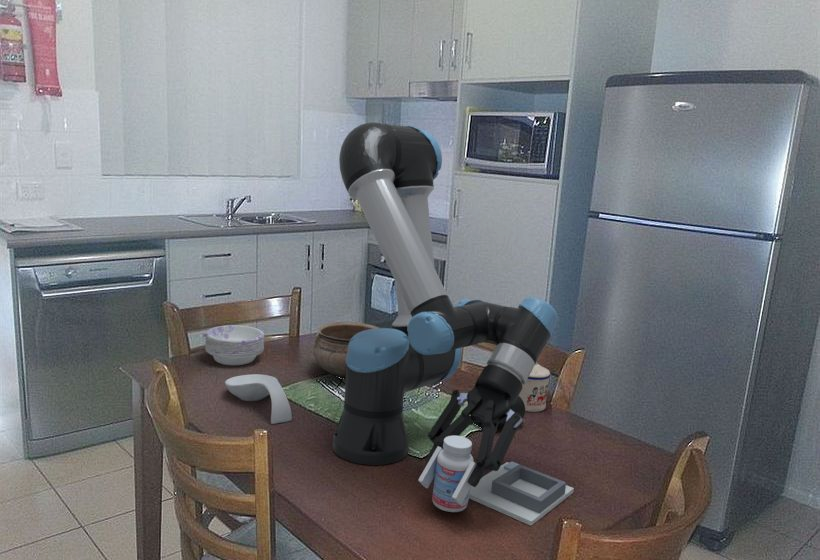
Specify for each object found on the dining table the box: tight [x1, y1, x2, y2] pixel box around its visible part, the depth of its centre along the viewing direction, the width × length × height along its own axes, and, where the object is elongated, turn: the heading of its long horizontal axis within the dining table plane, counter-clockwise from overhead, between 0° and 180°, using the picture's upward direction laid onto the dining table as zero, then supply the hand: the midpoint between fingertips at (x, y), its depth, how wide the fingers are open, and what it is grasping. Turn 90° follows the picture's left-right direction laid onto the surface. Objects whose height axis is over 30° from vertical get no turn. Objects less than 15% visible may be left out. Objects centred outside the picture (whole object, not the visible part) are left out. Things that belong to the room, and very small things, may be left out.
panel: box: [468, 461, 575, 527], centre depth 119 cm, size 14×16×3 cm
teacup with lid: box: [519, 360, 552, 413], centre depth 163 cm, size 12×9×12 cm
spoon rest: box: [224, 373, 293, 425], centre depth 150 cm, size 24×12×7 cm, turn 35°
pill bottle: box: [432, 435, 475, 513], centre depth 110 cm, size 6×6×11 cm
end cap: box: [473, 396, 526, 430], centre depth 149 cm, size 10×7×7 cm
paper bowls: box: [204, 324, 265, 366], centre depth 179 cm, size 15×15×8 cm
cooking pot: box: [312, 321, 382, 379], centre depth 173 cm, size 25×19×12 cm
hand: (439, 492), depth 108 cm, fingers closed on pill bottle, 6 cm apart
